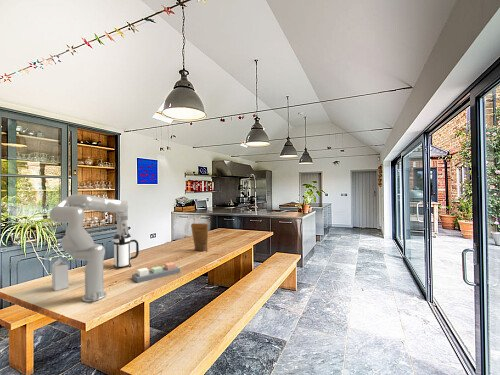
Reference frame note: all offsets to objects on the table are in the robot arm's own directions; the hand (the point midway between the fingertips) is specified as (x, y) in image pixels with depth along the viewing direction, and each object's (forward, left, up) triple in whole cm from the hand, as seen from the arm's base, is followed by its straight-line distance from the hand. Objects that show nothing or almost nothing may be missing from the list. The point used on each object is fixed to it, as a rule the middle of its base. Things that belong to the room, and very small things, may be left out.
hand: (122, 244), depth 179 cm
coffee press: (+34, -10, -25) cm, 44 cm away
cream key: (-6, -12, -24) cm, 27 cm away
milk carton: (+13, +34, -25) cm, 44 cm away
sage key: (-6, -22, -25) cm, 34 cm away
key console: (-6, -22, -25) cm, 34 cm away
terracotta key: (-6, -32, -24) cm, 40 cm away
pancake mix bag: (+35, -82, -25) cm, 93 cm away
